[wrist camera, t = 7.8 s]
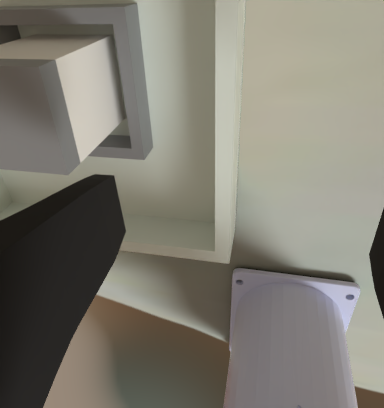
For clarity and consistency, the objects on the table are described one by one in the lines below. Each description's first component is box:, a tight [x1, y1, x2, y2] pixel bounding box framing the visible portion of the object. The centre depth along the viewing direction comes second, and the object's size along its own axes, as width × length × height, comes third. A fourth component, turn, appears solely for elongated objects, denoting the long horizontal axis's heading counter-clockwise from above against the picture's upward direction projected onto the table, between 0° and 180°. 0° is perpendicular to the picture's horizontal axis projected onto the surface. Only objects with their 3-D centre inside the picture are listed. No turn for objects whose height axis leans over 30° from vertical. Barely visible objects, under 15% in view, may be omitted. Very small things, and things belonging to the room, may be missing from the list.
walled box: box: [0, 0, 246, 264], centre depth 17 cm, size 18×16×3 cm
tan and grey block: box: [0, 34, 125, 175], centre depth 15 cm, size 4×4×6 cm
